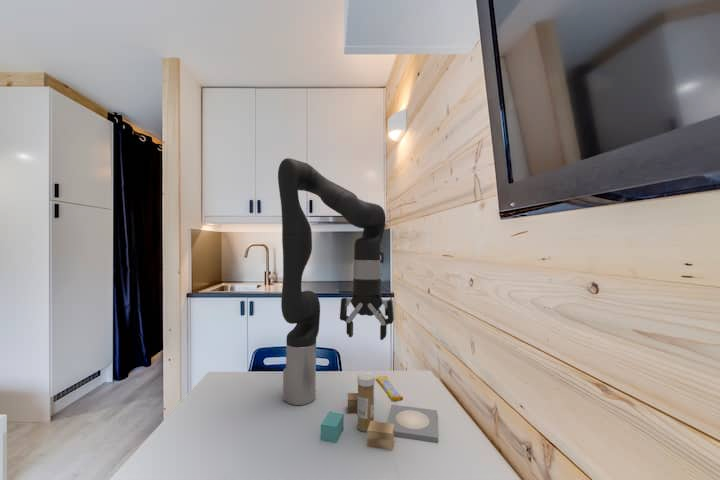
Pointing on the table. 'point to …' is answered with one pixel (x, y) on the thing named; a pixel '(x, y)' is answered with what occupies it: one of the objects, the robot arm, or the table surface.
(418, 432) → the slate board
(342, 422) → the teal block
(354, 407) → the walnut block
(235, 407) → the table surface
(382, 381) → the candy bar
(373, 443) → the oak block
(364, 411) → the sprinkles bottle
